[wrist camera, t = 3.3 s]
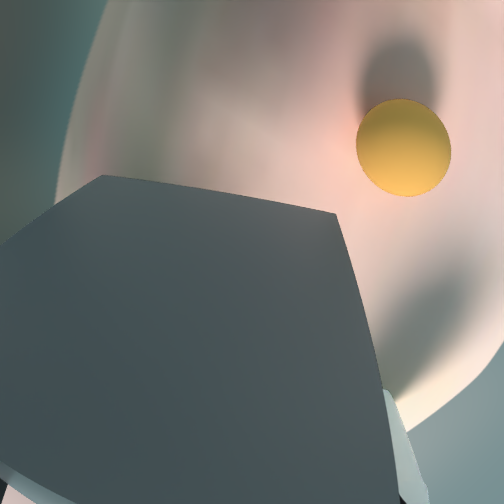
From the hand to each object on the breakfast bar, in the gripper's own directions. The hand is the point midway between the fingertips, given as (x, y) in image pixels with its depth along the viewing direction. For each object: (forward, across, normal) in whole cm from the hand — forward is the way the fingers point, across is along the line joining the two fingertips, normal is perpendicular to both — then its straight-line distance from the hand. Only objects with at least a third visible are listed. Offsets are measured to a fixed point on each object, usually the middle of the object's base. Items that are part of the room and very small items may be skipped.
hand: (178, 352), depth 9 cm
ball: (+10, -8, -6) cm, 14 cm away
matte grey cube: (+3, 0, 0) cm, 3 cm away
